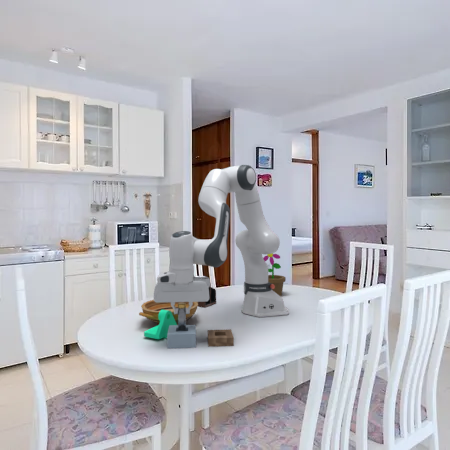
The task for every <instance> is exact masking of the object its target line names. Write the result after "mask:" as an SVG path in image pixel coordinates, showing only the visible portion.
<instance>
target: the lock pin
mask: <svg viewBox="0 0 450 450" xmlns="http://www.w3.org/2000/svg"><path fill="white" fill-rule="evenodd" d="M186 325H187V320H186V303H178V330H181V331H182V330H186Z"/></svg>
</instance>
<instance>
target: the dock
mask: <svg viewBox="0 0 450 450" xmlns="http://www.w3.org/2000/svg"><path fill="white" fill-rule="evenodd" d="M166 339H167V343H166V344H167V346H166V347H167V348H166V349H191V348H193V349H194V348H197V340H196V339H197V325H196V324H186V330H182V331H181V330H178V325H169V329H168V334H167V338H166Z"/></svg>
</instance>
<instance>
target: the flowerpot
mask: <svg viewBox="0 0 450 450" xmlns="http://www.w3.org/2000/svg"><path fill="white" fill-rule="evenodd" d="M263 259H264V261H265V262H267V261H268V260H269V264H270V265H271V268H268V273H271V274H268V282H270V283H271V284H274V286H275V288H274V289H272V290H273V291H274V292H275V293H277V294H278V295H279V296H280V297H282V295H283V288H284V283H285V282H286V276H284V275H279V274H275V270H274V269H276V270H277V269H281V268H282V267H281V265H280V264H279V263H277V262H275V259H277V260H278V259H281V255H279V254H277V253H272V254H266V255H264V257H263Z"/></svg>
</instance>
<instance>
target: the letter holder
mask: <svg viewBox="0 0 450 450" xmlns="http://www.w3.org/2000/svg"><path fill="white" fill-rule="evenodd" d="M216 304H217V290H216V289H215V288H214V287H212V286H210V287H209V300H208V301H207V302H198V306H197V308H199V307H200V308H204V309H206V308H208V307H210V306H213V305H216Z"/></svg>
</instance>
